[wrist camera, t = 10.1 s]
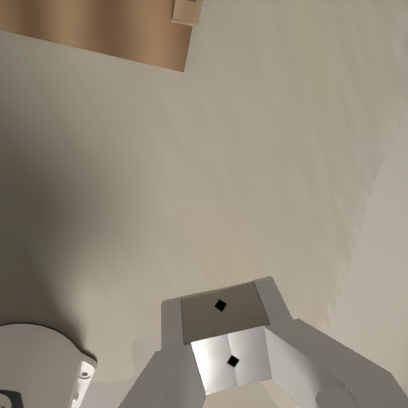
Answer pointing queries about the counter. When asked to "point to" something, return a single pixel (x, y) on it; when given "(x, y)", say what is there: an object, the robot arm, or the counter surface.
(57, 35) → the rod slider board
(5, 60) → the counter surface
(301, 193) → the counter surface
